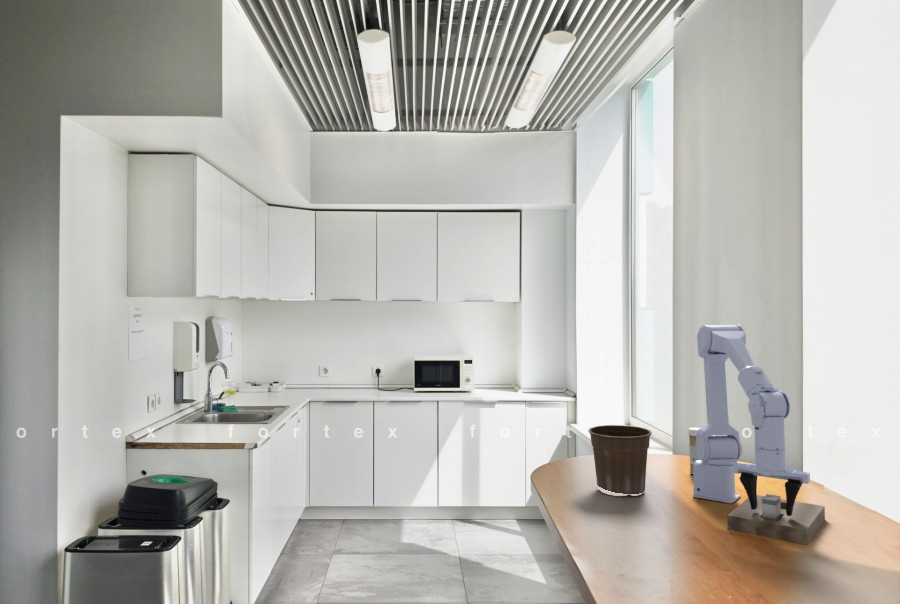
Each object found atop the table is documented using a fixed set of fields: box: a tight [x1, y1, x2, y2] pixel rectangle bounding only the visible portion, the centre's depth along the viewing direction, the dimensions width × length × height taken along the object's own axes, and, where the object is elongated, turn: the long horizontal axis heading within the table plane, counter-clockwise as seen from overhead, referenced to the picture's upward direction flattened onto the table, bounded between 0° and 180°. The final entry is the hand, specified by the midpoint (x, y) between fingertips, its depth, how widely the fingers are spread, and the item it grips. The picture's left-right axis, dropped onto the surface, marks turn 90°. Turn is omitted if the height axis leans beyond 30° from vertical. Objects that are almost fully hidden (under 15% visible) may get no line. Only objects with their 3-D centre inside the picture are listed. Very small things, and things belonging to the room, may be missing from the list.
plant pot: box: [587, 424, 653, 494], centre depth 161 cm, size 16×16×16 cm
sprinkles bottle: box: [688, 427, 701, 475], centre depth 177 cm, size 5×5×14 cm
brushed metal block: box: [762, 493, 782, 521], centre depth 130 cm, size 3×4×7 cm, turn 139°
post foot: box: [726, 494, 826, 546], centre depth 134 cm, size 15×20×3 cm
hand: (771, 511), depth 130 cm, fingers open, 6 cm apart
